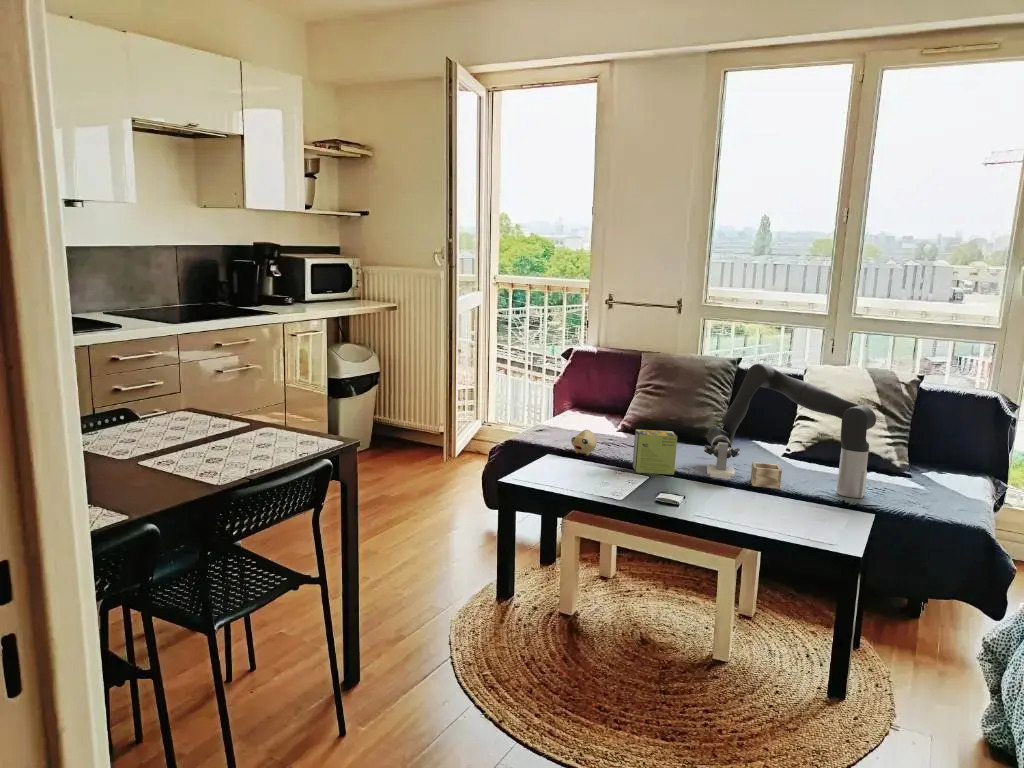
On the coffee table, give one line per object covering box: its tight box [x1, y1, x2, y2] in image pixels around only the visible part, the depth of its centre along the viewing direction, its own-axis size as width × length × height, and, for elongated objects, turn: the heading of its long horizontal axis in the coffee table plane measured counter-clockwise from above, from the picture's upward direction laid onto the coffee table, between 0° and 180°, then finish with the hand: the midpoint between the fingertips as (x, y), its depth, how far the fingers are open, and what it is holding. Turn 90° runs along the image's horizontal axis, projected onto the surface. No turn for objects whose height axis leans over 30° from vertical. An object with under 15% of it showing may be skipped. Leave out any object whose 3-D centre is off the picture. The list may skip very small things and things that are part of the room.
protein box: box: [632, 429, 678, 476], centre depth 306 cm, size 10×15×16 cm
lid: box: [706, 442, 736, 480], centre depth 292 cm, size 10×10×12 cm
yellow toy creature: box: [570, 429, 598, 457], centre depth 329 cm, size 10×12×11 cm
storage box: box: [750, 461, 783, 490], centre depth 294 cm, size 10×10×7 cm
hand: (722, 455), depth 289 cm, fingers closed on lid, 3 cm apart
